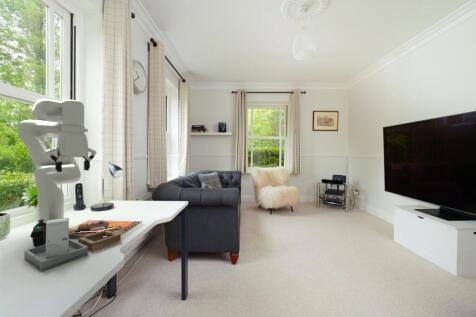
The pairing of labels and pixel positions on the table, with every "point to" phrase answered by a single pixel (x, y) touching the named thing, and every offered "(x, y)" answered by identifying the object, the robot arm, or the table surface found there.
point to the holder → (100, 240)
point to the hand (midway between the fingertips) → (73, 170)
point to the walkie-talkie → (94, 226)
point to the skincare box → (57, 237)
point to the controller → (39, 234)
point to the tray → (42, 263)
